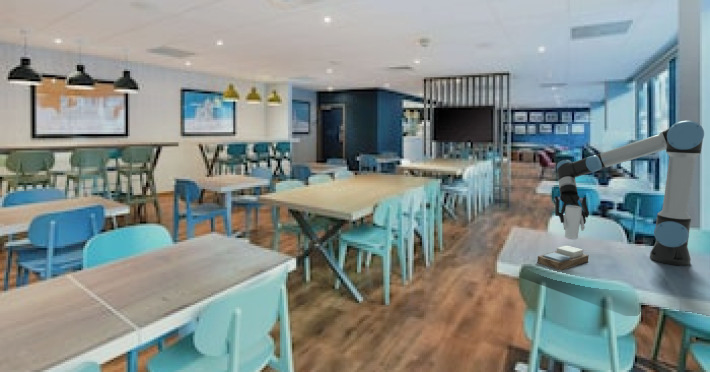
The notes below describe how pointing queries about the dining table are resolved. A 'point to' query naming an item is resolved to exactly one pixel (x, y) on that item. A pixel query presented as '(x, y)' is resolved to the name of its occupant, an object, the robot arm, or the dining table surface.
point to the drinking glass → (572, 221)
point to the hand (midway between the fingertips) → (574, 228)
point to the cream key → (570, 251)
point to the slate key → (557, 257)
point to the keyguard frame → (563, 264)
